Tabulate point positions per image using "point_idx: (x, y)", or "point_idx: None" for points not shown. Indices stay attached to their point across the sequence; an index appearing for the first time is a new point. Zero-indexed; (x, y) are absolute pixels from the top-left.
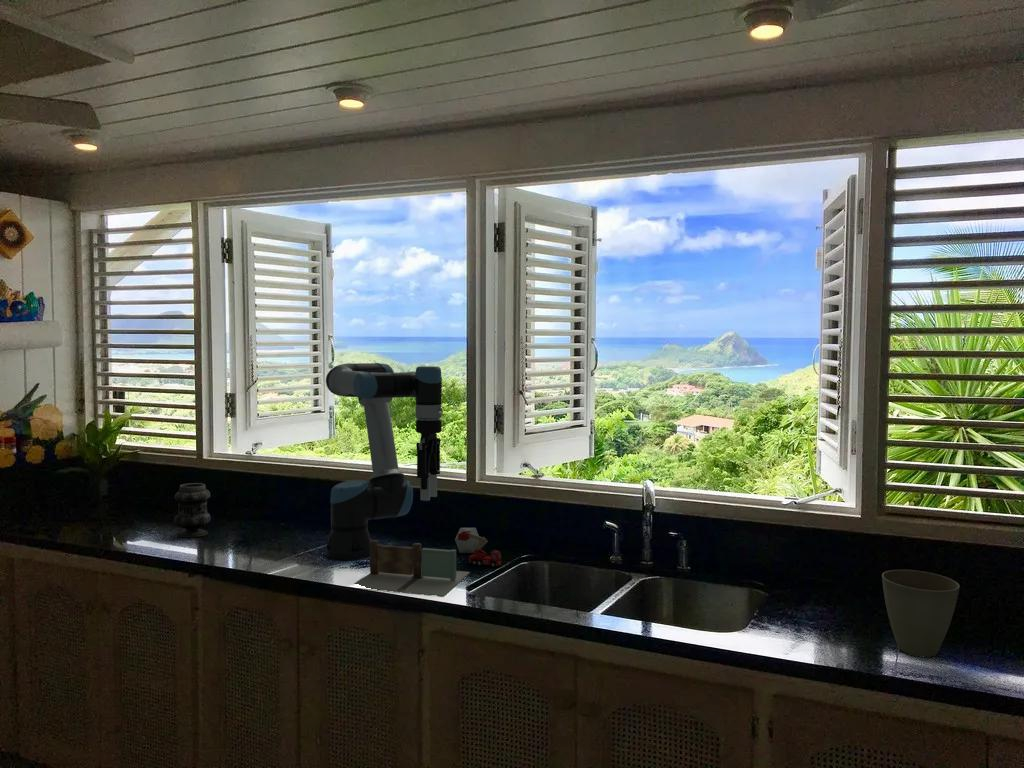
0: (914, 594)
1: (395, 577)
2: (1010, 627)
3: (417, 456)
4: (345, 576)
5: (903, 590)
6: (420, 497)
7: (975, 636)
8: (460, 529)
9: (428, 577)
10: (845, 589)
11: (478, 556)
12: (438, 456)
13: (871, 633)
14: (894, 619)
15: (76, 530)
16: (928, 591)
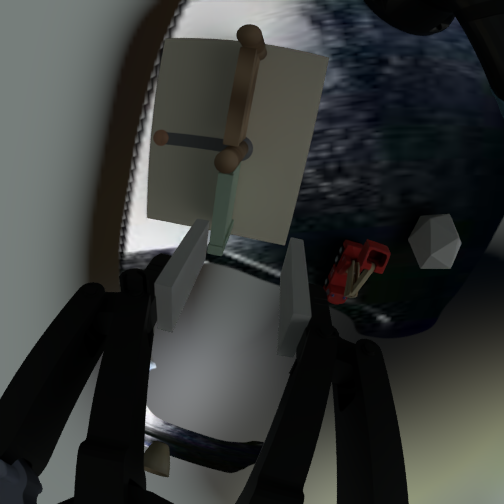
0: None
1: None
2: (204, 466)
3: (10, 387)
4: (238, 4)
5: None
6: (193, 224)
7: (188, 458)
8: (452, 237)
9: (241, 171)
10: (252, 459)
11: (339, 264)
12: (337, 462)
13: (177, 444)
14: (150, 452)
15: None
16: None
